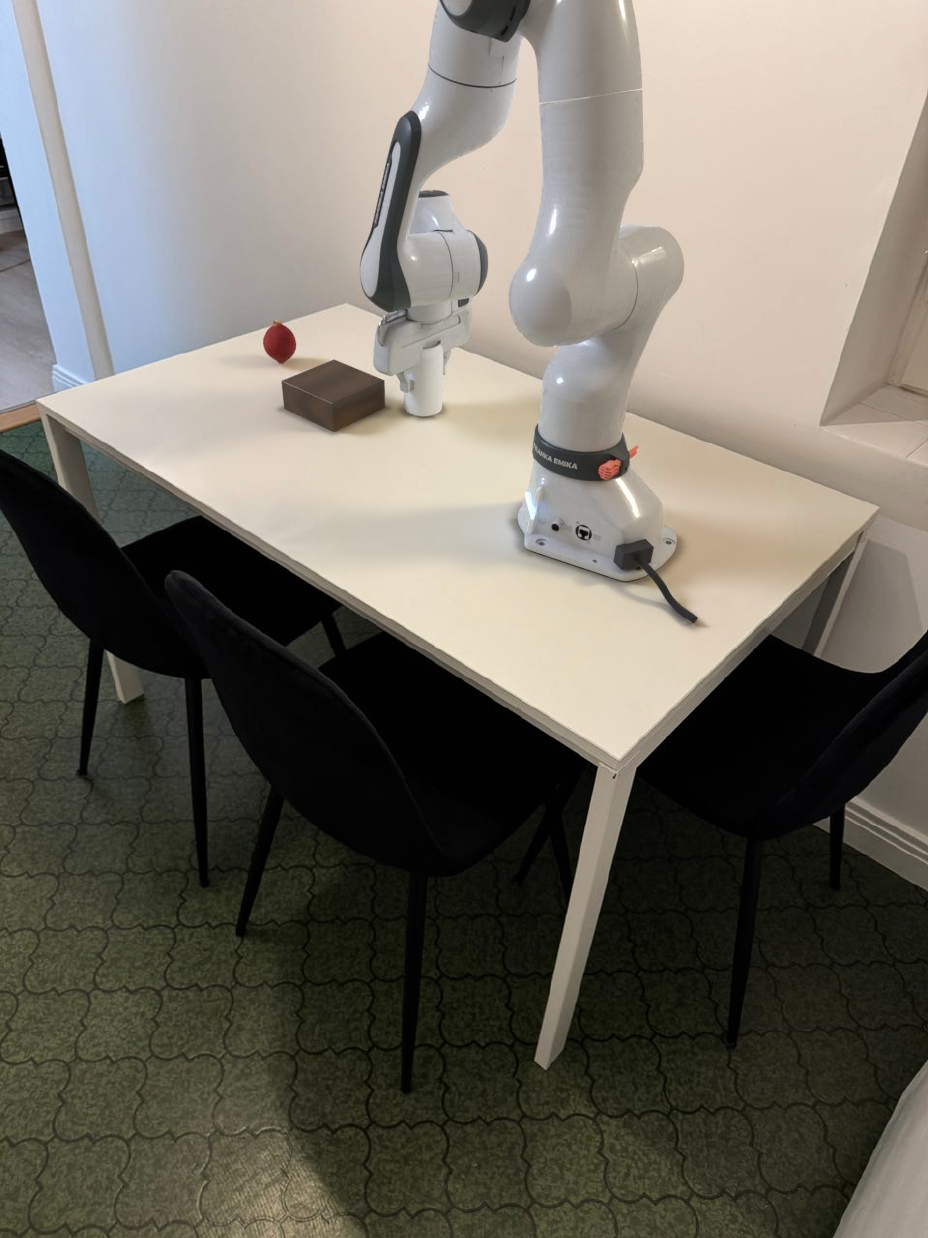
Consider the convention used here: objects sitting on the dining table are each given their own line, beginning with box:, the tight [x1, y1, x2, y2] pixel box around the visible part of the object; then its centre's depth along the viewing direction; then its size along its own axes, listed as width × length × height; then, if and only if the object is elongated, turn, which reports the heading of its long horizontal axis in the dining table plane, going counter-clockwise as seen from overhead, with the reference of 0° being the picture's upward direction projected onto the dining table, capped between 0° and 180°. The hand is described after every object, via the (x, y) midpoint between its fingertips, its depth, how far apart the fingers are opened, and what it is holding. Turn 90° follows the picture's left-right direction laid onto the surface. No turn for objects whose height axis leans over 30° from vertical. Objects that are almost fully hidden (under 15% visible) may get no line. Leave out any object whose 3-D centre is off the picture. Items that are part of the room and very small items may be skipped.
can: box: [403, 340, 444, 418], centre depth 150 cm, size 6×6×12 cm
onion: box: [262, 319, 297, 364], centre depth 163 cm, size 6×6×8 cm
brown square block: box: [281, 359, 386, 433], centre depth 151 cm, size 12×12×5 cm
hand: (422, 383), depth 150 cm, fingers closed on can, 6 cm apart
